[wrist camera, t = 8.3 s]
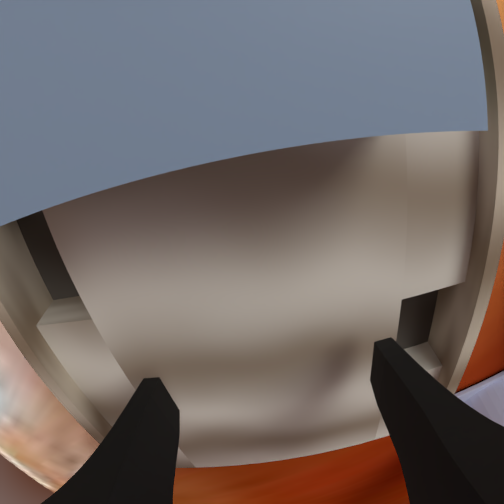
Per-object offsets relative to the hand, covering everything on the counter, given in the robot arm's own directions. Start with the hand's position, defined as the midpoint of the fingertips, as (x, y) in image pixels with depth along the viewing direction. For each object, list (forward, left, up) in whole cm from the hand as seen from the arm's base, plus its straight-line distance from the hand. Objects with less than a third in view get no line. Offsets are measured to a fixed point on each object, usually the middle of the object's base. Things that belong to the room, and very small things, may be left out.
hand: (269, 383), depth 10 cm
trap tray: (+2, 0, -4) cm, 4 cm away
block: (+10, 0, -2) cm, 10 cm away
